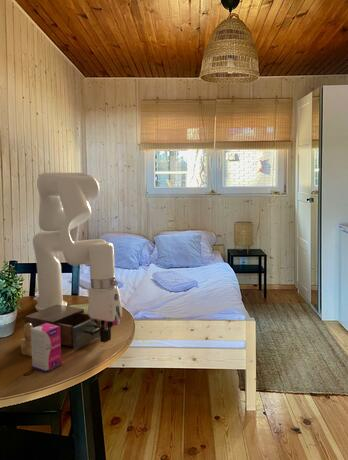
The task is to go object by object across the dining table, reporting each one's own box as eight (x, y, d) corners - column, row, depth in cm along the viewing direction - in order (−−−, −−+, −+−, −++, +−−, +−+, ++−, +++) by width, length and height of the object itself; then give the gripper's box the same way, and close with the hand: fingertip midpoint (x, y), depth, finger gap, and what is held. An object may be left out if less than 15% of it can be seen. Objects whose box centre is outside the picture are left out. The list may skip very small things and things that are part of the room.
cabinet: (85, 332, 143) (84, 308, 142) (54, 347, 131) (53, 321, 130) (58, 327, 149) (56, 304, 148) (26, 341, 137) (24, 316, 136)
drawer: (112, 336, 137) (112, 316, 136) (86, 351, 126) (85, 329, 125) (77, 329, 144) (76, 310, 143) (48, 342, 133) (47, 322, 132)
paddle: (20, 354, 127) (18, 323, 125) (27, 351, 129) (25, 320, 128) (32, 357, 124) (30, 325, 123) (39, 354, 126) (37, 323, 125)
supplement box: (46, 372, 114) (44, 332, 112) (32, 368, 117) (29, 328, 116) (62, 364, 119) (60, 325, 117) (48, 360, 122) (45, 322, 120)
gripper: (130, 282, 128) (132, 340, 130) (91, 278, 135) (94, 333, 137) (115, 288, 121) (118, 349, 123) (75, 283, 128) (79, 341, 130)
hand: (105, 340), depth 130 cm, fingers closed
